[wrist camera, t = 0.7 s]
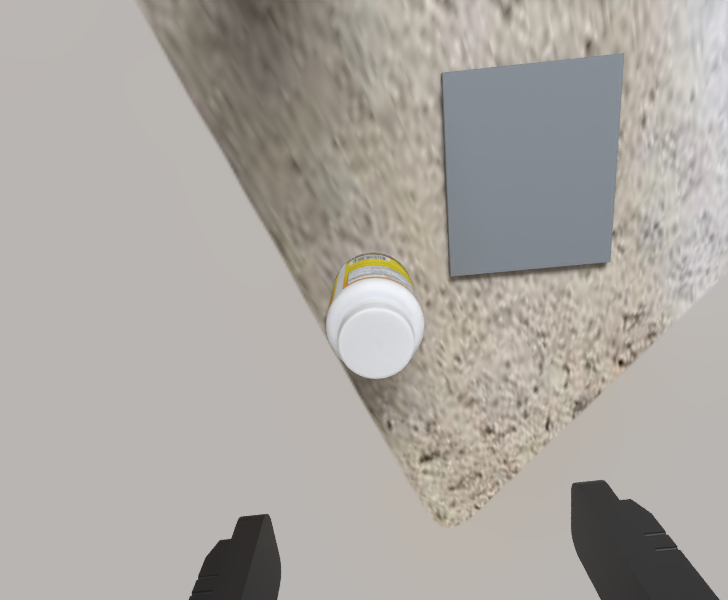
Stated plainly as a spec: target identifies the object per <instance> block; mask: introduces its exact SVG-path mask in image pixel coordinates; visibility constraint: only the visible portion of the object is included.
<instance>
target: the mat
mask: <svg viewBox="0 0 728 600" xmlns="http://www.w3.org/2000/svg"><path fill="white" fill-rule="evenodd" d="M623 64H624V53H622V54H613V55H604V56H594V57H585V58H576V59H566V60H557V61H548V62H538V63H529V64H520V65H510V66H501V67H491V68H482V69H473V70H463V71H454V72H445V73H442V74H441V80H442V104H443V128H444V152H445V176H446V200H447V223H448V247H449V271H450V276H462V275H473V274H484V273H495V272H506V271H517V270H528V269H538V268H549V267H560V266H571V265H582V264H593V263H604V262H610V258H611V243H612V228H613V213H614V198H615V183H616V168H617V154H618V139H619V124H620V109H621V94H622V79H623Z"/></svg>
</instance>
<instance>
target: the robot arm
mask: <svg viewBox="0 0 728 600" xmlns="http://www.w3.org/2000/svg"><path fill="white" fill-rule="evenodd" d="M571 532H572V539H573V543H574V546H575V549H576V552H577V554H578V557H579V559H580V561H581V562H582V564H583V566H584V568H585V570H586V572H587V574H588V576H589V578H590V580H591V582H592V583H593V585H594V587H595V589H596V591H597V593H598V595H599V597H600V599H601V600H719V599H718V597H717V596H716V595H715V594H714V592H713V591H712V590H711V589H710V587H709V586H708V585H707V583H706V582H705V581H704V580H703V578H702V577H701V576H700V574H699V573H698V572H697V571H696V569H695V568H694V567H693V566H692V564H691V563H690V562H689V561H688V559H687V558H686V557H685V556H684V554H683V553H682V552H681V550H678V548H677V545H676V544H675V543H674V542H673V540H672V539H671V538H670V537H669V535H666V532H665V530H664V529H663V528H662V526H661V525H660V524H659V523H658V521H657V520H656V519H655V518H654V516H653V515H652V514H651V513H650V512H648V511H647V510H646V509H644V508H643V507H641V506H640V505H638V504H637V503H636V502H634V501H633V500H631V499H628V500H619V499H618V497H617V496H616V495H615V493H614V492H613V491H612V489H611V488H610V486H609V485H608V484H607V483H606V482H605V481H603V480H597V481H587V482H578V483H573V484H572V488H571ZM280 580H281V562H280V557H279V552H278V548H277V543H276V539H275V535H274V531H273V526H272V522H271V518H270V516H269V515H268V514H263V515H253V516H243V517H240V518H239V519H238V522H237V524H236V527H235V530H234V532H233V535H232V538H231V539H227V540H220V541H219V542H218V543H217V544H216V546H215V547H214V548H213V549H212V550H211V552H210V553H209V554H208V555H207V557H206V558H205V561H204V563H203V566H202V568H201V571H200V573H199V576H198V580H197V581H196V583H195V586H194V588H193V591H192V596H190V598H189V600H277V597H278V592H279V587H280Z"/></svg>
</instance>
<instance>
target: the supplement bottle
mask: <svg viewBox="0 0 728 600" xmlns="http://www.w3.org/2000/svg"><path fill="white" fill-rule="evenodd" d="M326 333H327V337H328V341H329V344H330V346H331V348H332V349H333V351H334V352H335V354H336V355H337V356H338V357H339V358H340V359H341V360H342V361H343V362H344V363H345V365H346V366H347V367H348V368H349V369H350V370H351V371H353V372H354V373H356V374H357V375H360V376H362V377H365V378H370V379H382V378H387V377H390V376H393V375H395V374H396V373H398V372H400V371H401V370H402V369H403V368H404V367H405V366H406V365H407V364H408V362H409V361H410V359H411V357H412V356H413V355H414V354H415V353H416V351H417V350H418V348H419V346H420V344H421V341H422V338H423V334H424V317H423V312H422V309H421V306H420V304H419V301H418V298H417V296H416V293H415V290H414V288H413V285H412V282H411V279H410V277H409V275H408V273H407V271H406V270H405V268H404V267H403V266H402V265H401V264H400V263H399V262H398V261H397V260H395V259H394V258H392V257H390V256H388V255H385V254H381V253H365V254H361V255H358V256H356V257H354V258H352V259H351V260H349V261H348V262H347V263H346V264H345V265H344V266H343V267H342V268H341V269H340V271H339V273H338V275H337V277H336V279H335V283H334V287H333V292H332V296H331V301H330V305H329V309H328V314H327V319H326Z"/></svg>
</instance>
